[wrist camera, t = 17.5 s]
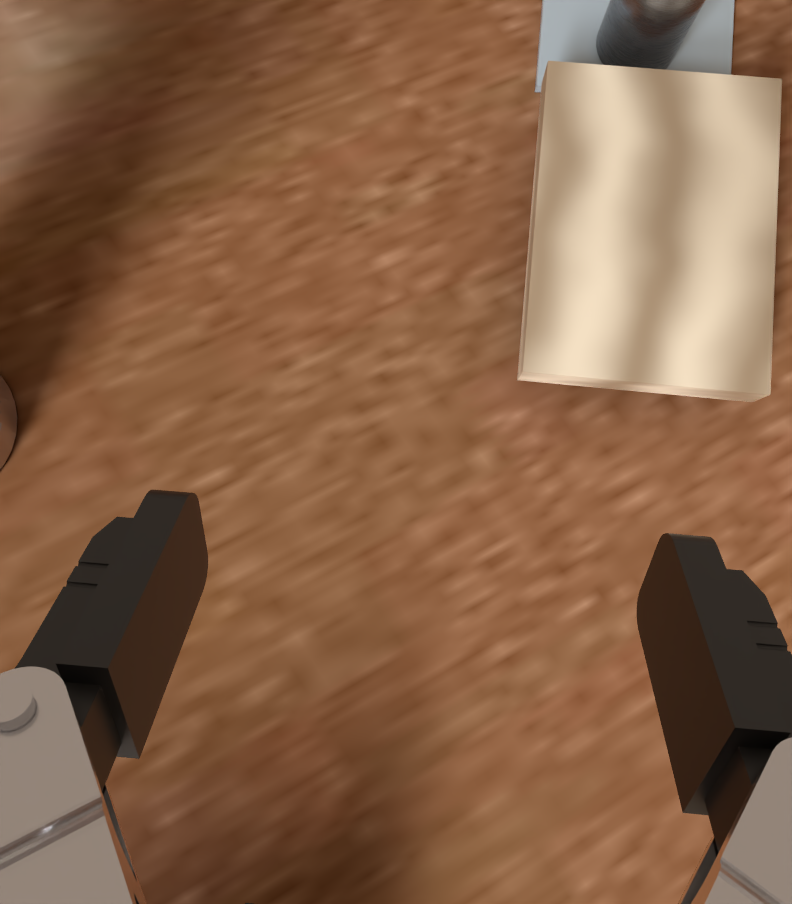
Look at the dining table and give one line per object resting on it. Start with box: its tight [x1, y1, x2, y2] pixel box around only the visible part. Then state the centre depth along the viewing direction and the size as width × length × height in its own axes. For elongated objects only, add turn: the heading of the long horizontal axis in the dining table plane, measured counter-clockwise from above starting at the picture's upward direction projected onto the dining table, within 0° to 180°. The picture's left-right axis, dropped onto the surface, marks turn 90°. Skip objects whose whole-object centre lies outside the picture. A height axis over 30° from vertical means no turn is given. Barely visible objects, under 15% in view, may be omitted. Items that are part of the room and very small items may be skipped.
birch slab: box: [517, 61, 782, 402], centre depth 41 cm, size 13×18×5 cm
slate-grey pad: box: [535, 0, 734, 92], centre depth 45 cm, size 12×7×1 cm, turn 84°
